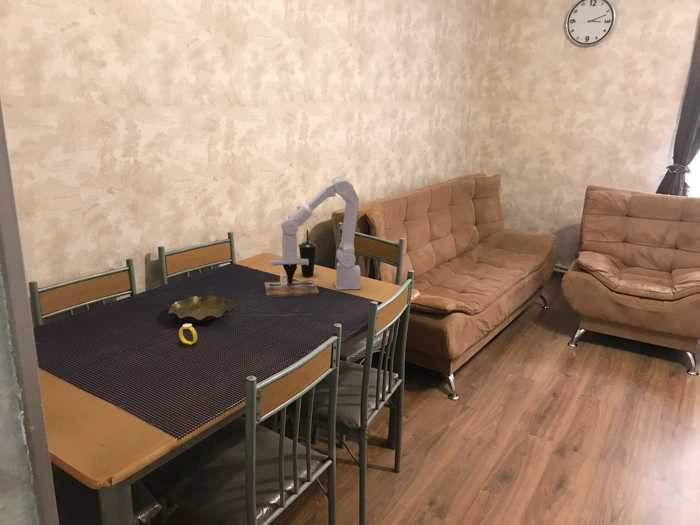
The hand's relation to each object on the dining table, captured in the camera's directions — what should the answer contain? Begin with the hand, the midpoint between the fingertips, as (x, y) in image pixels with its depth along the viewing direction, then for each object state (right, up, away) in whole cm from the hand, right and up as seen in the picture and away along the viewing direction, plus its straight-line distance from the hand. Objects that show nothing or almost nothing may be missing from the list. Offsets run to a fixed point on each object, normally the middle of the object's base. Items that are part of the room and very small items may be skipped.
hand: (290, 282), depth 218 cm
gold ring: (-25, -17, -51) cm, 59 cm away
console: (0, -3, +1) cm, 3 cm away
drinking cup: (+5, +2, +20) cm, 21 cm away
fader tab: (-3, -2, 0) cm, 3 cm away
